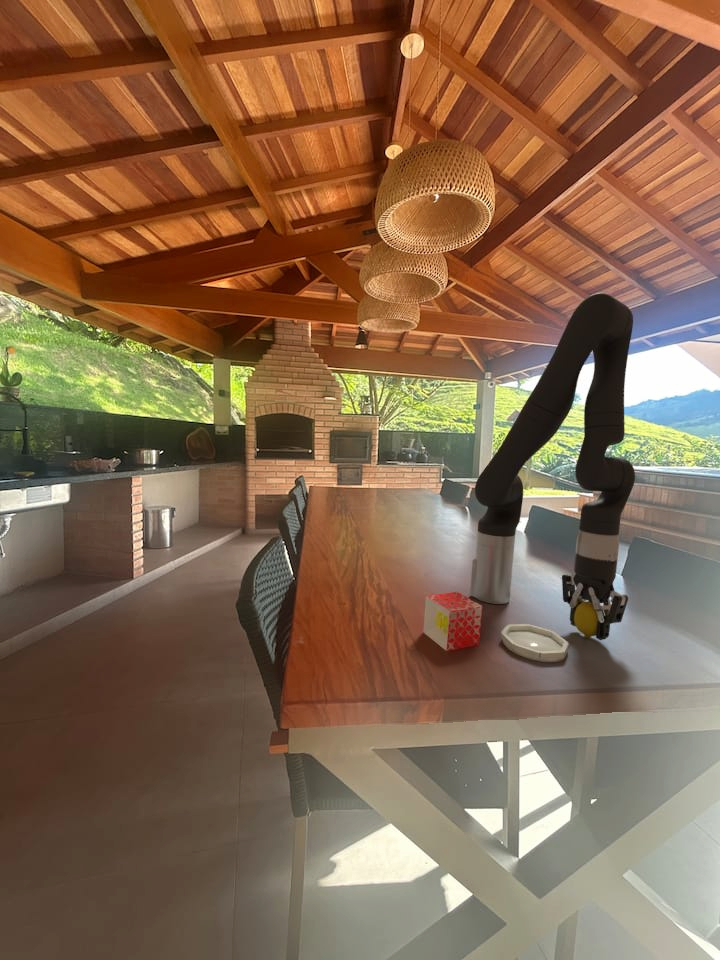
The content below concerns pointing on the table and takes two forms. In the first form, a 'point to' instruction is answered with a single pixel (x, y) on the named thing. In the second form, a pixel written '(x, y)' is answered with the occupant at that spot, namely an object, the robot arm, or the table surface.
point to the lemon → (586, 619)
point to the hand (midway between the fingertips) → (588, 631)
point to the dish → (534, 642)
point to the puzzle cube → (452, 620)
